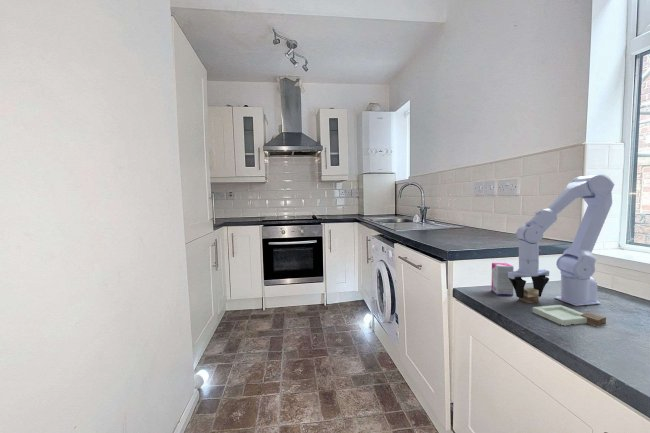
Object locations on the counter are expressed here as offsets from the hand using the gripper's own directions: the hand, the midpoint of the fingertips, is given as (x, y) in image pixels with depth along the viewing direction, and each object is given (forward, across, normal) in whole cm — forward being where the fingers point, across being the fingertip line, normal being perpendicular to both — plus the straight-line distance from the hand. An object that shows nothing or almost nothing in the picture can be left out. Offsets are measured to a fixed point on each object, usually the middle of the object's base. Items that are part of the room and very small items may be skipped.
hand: (528, 296), depth 99 cm
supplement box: (+2, +3, -9) cm, 10 cm away
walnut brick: (+2, -3, +19) cm, 19 cm away
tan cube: (+2, 0, 0) cm, 2 cm away
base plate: (+1, +2, +14) cm, 14 cm away
